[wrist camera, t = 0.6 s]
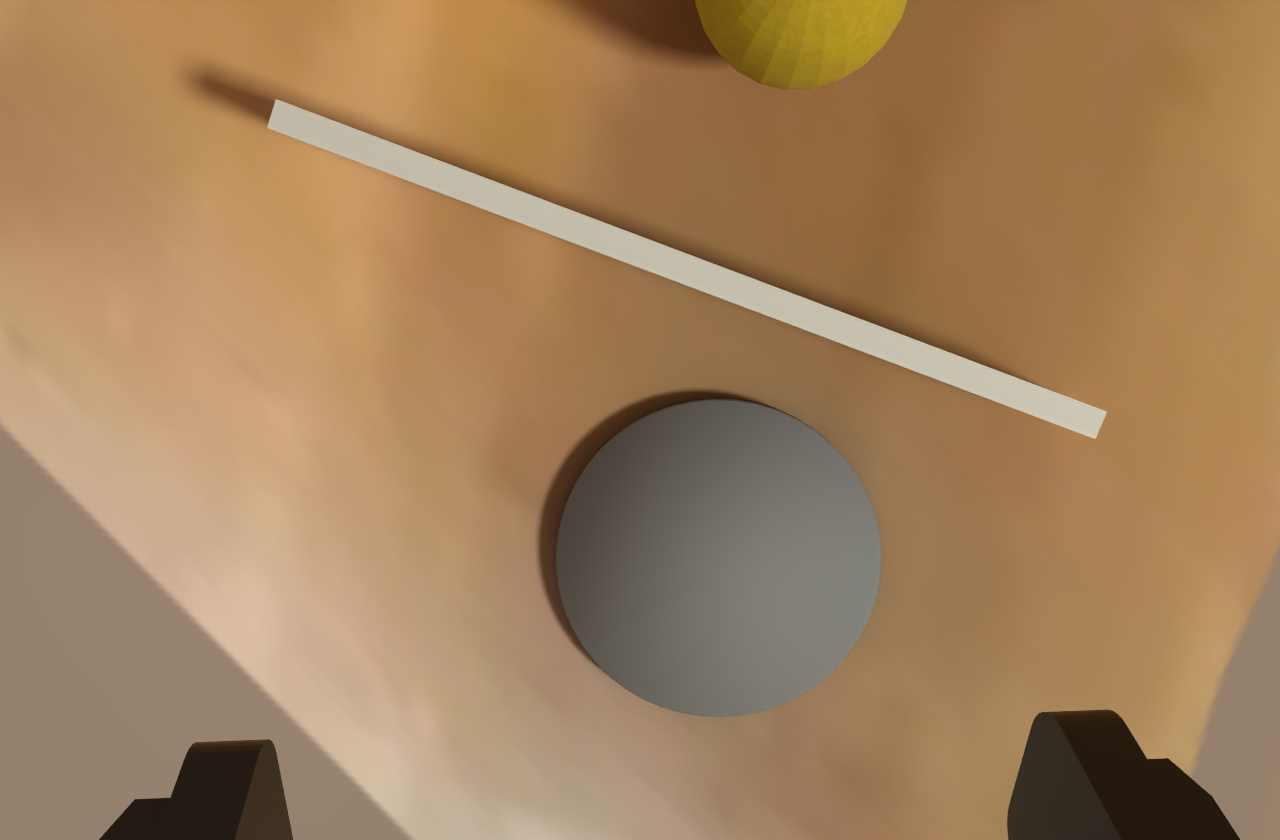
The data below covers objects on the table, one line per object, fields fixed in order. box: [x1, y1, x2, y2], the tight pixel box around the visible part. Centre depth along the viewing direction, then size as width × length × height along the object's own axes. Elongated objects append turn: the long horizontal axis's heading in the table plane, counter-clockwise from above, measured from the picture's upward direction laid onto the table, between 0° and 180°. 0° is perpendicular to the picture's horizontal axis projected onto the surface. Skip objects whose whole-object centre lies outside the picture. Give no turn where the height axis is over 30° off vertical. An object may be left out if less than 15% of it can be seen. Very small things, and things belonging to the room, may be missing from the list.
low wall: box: [267, 99, 1107, 439], centre depth 32 cm, size 1×24×4 cm, turn 69°
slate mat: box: [556, 398, 882, 717], centre depth 34 cm, size 10×10×1 cm
